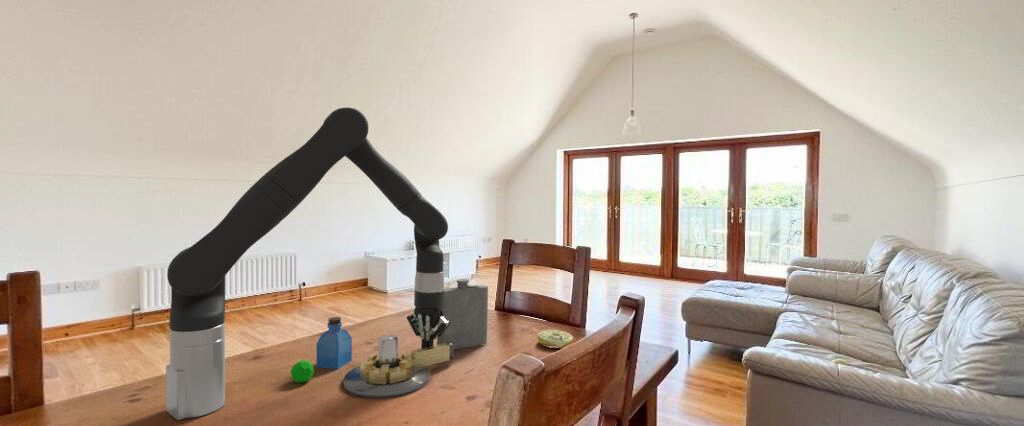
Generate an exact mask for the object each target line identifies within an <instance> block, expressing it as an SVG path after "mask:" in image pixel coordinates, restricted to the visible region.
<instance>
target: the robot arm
mask: <svg viewBox="0 0 1024 426" xmlns="http://www.w3.org/2000/svg"><path fill="white" fill-rule="evenodd" d="M368 133H369V121H368V119H367V117H366V115H364V113H363V112H362V111H360V110H358V109H356V108H354V107H353V108H352V107H349V106H347V107H340V108H337V109H334V110H333V111H331V112H330V114H328V115H327V116H326V118H325V119H324V121H323V123H322V125H321V126H320V127H319V129H318V130H317V131H316V132H315V133H314V134H313V135H312V136H311V137H310V138H309V139H308V140H307V141H306V142H305V143H304V144H303V145H302V146H301V147H299V148H298V149H297V150H295V151H294V152H292V153H291V154H290V155H288V156H286V157H285V158H284V159H282V160H281V161H279V162H278V163H277V164H275V165H274V166H273V167H272V168H271V169H269V170H268V171H267V172H266V173H264V175H262V176H261V177H259V179H258V180H257V181H255V183H253V185H251V186H250V188H248V190H246V191H245V192H244V194H243V195H242V196H241V197H240V198H239V199H238V201H237V202H236V203H235V204H234V206H232V207H231V209H230V210H229V211H228V212H227V214H226V215H225V217H224V218H223V219H221V221H220V222H219V223H218V224H217V225H216V226H215V227H214V228H213V229H212V230H210V231H209V232H208V233H207V234H205V235H204V236H203V237H201V238H200V239H199V240H198V241H196V242H195V243H194V244H192V245H191V246H190V247H186V248H185V249H183V250H182V251H180V252H179V253H177V255H175V256H174V257H173V258H172V260H171V261H170V263H169V265H168V267H167V272H166V276H167V281H168V285H169V286H170V287H171V289H170V290H171V294H170V295H171V298H170V299H171V300H170V312H169V318H168V319H169V321H168V322H169V363H168V364H167V365H166V366H165V396H166V398H165V401H166V403H165V406H166V410H165V411H166V412H165V413H168V414H169V415H170V416H171V417H173V418H174V419H175V420H177V421H181V420H184V419H190V418H196V417H197V418H198V417H202V416H204V415H205V416H206V415H207V414H212V413H213V412H216V411H218V410H219V409H221V408H222V407H223V406H224V405H225V403H226V353H225V352H226V347H225V346H226V344H225V343H226V341H225V340H226V335H225V334H226V323H225V321H226V317H225V316H226V315H225V314H226V275H227V274H228V273H229V272H230V271H231V269H232V268H233V266H235V264H236V263H237V262H238V261H239V260H240V259H241V258H242V256H244V254H245V253H246V252H247V251H248V250H249V249H250V248H251V247H252V246H253V245H255V243H257V242H259V240H260V239H262V238H263V237H265V236H266V235H267V234H268V233H269V232H270V231H272V230H273V229H274V228H275V227H277V226H278V225H279V224H280V223H281V222H282V221H283V220H285V219H286V217H288V216H289V215H290V214H291V213H292V212H293V211H294V210H295V209H296V208H297V207H298V206H299V205H300V204H301V203H302V202H303V201H304V200H305V199H306V197H308V195H309V194H310V193H312V191H313V190H314V189H315V188H316V186H317V185H318V184H319V183H320V182H321V180H322V179H323V178H324V177H325V176H326V174H327V173H328V172H329V171H330V170H331V169H332V168H333V167H334V166H335V165H336V164H337V163H338V162H339V161H341V160H342V159H343V158H344V157H345V158H347V159H348V160H349V161H351V162H352V163H353V164H354V165H355V166H356V167H357V168H359V170H360V171H361V172H363V173H364V174H365V176H367V178H368V179H369V180H370V181H371V182H372V183H373V184H374V185H375V186H376V188H378V189H379V191H380V192H381V193H382V194H383V195H384V196H385V198H387V200H388V201H389V202H390V203H391V204H392V205H393V206H394V207H395V208H396V210H398V212H399V213H400V214H402V215H403V216H405V217H407V218H408V219H409V220H410V221H411V222H412V223H413V224H414V225H413V238H414V243H415V244H414V245H415V251H416V260H415V261H416V262H415V276H414V293H413V294H414V295H413V296H414V297H413V304H414V307H415V308H414V310H413V313H411V314H409V315H407V316H406V320H407V322H408V323H409V326H410V327H411V329H412V331H413V333H414V335H415V336H416V337H420V339H421V347H420V349H421V348H426V347H430V346H434V340H437V338H439V337H440V336H441V335H442V334H443V332H444V331H445V330H446V329H447V327H448V326H449V325H450V321H449V320H448V321H446V320H445V318H444V317H443V312H442V306H443V292H444V289H445V287H444V285H445V282H444V281H445V278H444V252H443V250H442V249H441V246H440V240H442V239H443V238H445V236H446V235H447V233H448V230H449V224H448V220H447V219H446V217H445V216H444V215H443V214H442V212H440V210H439V209H438V208H436V206H434V205H433V204H432V203H431V202H430V201H428V200H427V199H426V198H425V197H424V196H423V195H422V193H421V192H420V191H419V190H418V189H417V188H416V186H415V185H414V184H413V183H412V182H411V181H410V180H409V179H408V178H407V176H405V175H404V173H403V172H402V171H400V170H399V169H398V168H397V167H396V166H394V164H392V163H391V162H389V161H388V160H387V159H386V158H385V157H384V156H383V155H381V153H379V151H378V150H377V149H376V148H375V146H374V145H373V144H372V143H371V141H370V140H369V139H368ZM439 321H440V322H439ZM438 323H439V324H438ZM437 324H438V326H439V327H438V328H437Z"/></svg>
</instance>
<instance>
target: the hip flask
mask: <svg viewBox="0 0 1024 426" xmlns="http://www.w3.org/2000/svg"><path fill="white" fill-rule="evenodd" d="M469 282H470V280H469V279H468V278H458V279H456V283H457V284H456V285H457V287H455V286H454V287H449V288H448V287H447V288H444V292H443V306H442V312H443V317H444V318H445V320H446V321H448V320H449V321H450V325H449V326H448V327H447V329H446V330H445V331H444V332H443V334H442V335H441V336H440V337H439V338H436V345H439V344H444V343H448V342H451V343H454V350H459V349H463V348H464V347H465V348H471V347H478V346H477V345H480V346H484V345H483V344H486V343H487V344H488V312H489V311H488V310H489V308H488V307H489V306H488V305H489V303H488V302H489V299H488V298H489V286H488V285H483V284H482V285H478V284H476V285H475V284H472V285H471V284H469ZM439 322H440V321H439ZM438 324H439V323H438ZM438 324H437V328H438V327H439V326H438ZM487 344H486V345H487ZM470 346H471V347H470ZM465 348H464V349H465Z"/></svg>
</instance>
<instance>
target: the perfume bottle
mask: <svg viewBox="0 0 1024 426" xmlns="http://www.w3.org/2000/svg"><path fill="white" fill-rule="evenodd" d="M341 320H342V317H340V316H333V317H329V318H328V319H327V321H328V323H327V328H328V330H325V331H324V332H322V334H321V336H320V337H319V338H318V341H317V342H316V368H325V369H332V370H340V369H341V368H342V367H344V366H345V365H347V364H349V363H351V362H352V361H353V360H352V359H353V358H352V356H353V351H352V349H353V347H352V345H353V344H352V341H353V339H352V336H351V335H350V333H349V332H348V331H347V329H344V328H343V327H342V324H343V323H342V321H341ZM342 328H343V329H342Z"/></svg>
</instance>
